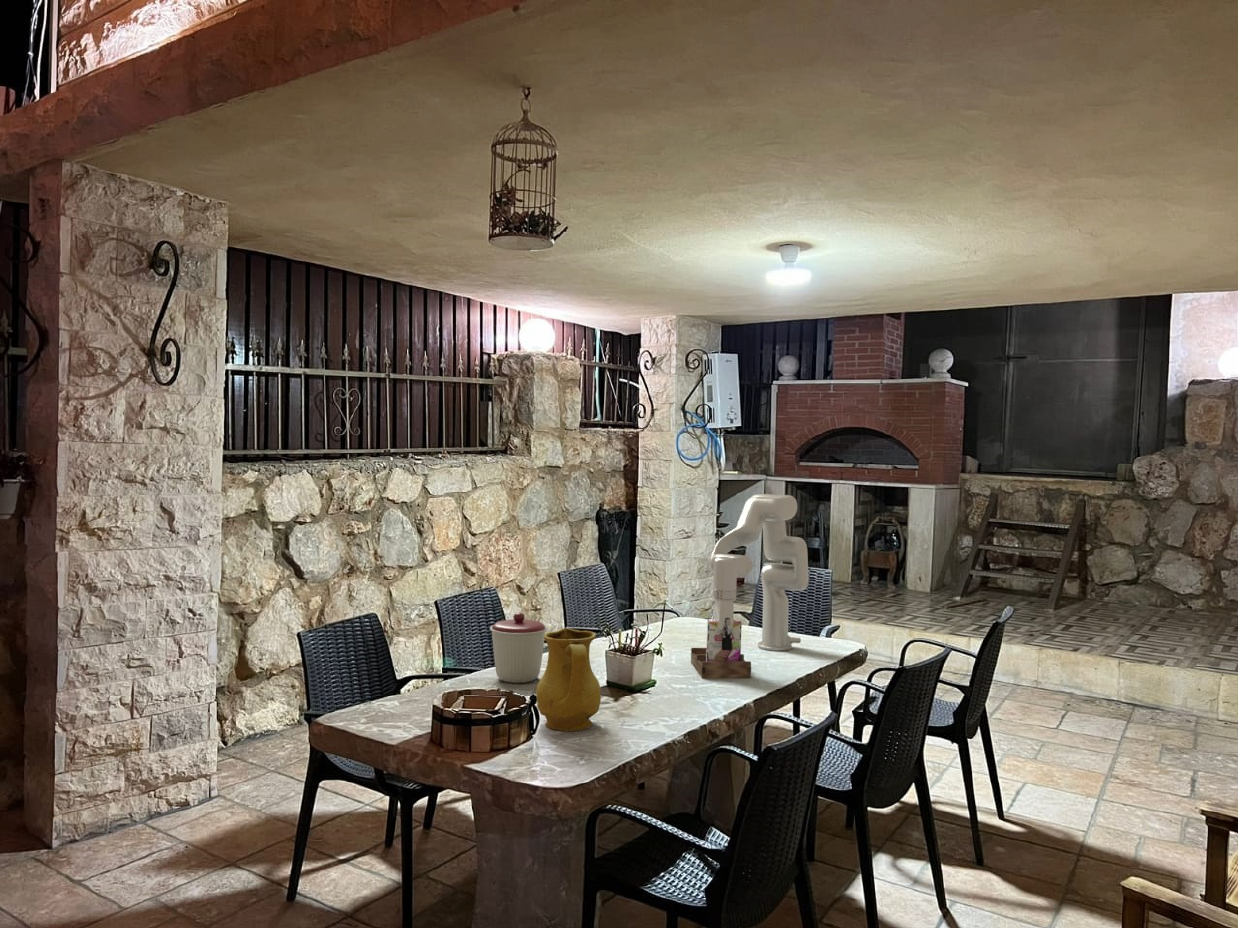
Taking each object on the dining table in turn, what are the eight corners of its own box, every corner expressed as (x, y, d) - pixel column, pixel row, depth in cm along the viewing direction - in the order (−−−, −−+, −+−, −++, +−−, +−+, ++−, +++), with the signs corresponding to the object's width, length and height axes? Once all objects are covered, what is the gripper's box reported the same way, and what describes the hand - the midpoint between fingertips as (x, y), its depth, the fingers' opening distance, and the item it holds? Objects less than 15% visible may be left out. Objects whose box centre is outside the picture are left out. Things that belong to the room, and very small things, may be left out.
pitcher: (608, 715, 242) (606, 625, 240) (591, 740, 223) (588, 643, 222) (548, 712, 245) (546, 623, 244) (526, 736, 227) (523, 640, 226)
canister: (512, 669, 292) (513, 605, 291) (557, 677, 283) (558, 611, 282) (477, 681, 276) (478, 613, 276) (524, 690, 267) (525, 620, 267)
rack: (736, 662, 307) (736, 647, 307) (750, 678, 287) (751, 662, 286) (690, 662, 306) (691, 647, 306) (702, 678, 285) (702, 662, 285)
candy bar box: (706, 671, 289) (707, 621, 289) (705, 667, 294) (706, 618, 294) (740, 672, 288) (742, 622, 288) (739, 668, 293) (740, 619, 293)
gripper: (708, 590, 299) (707, 640, 299) (718, 599, 282) (717, 652, 282) (730, 590, 300) (729, 640, 300) (741, 599, 283) (740, 652, 283)
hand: (723, 646), depth 291 cm, fingers open, 9 cm apart
